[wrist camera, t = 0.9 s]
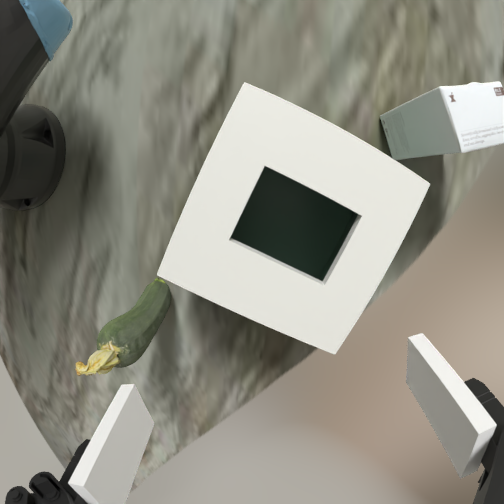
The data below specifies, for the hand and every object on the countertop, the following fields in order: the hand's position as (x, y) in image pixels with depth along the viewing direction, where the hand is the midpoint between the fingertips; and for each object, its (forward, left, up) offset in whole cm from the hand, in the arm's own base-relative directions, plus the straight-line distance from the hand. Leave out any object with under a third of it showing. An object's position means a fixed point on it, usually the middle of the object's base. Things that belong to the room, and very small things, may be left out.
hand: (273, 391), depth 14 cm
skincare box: (+9, +22, -26) cm, 35 cm away
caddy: (-1, +6, -25) cm, 26 cm away
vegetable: (-10, -10, -26) cm, 29 cm away
